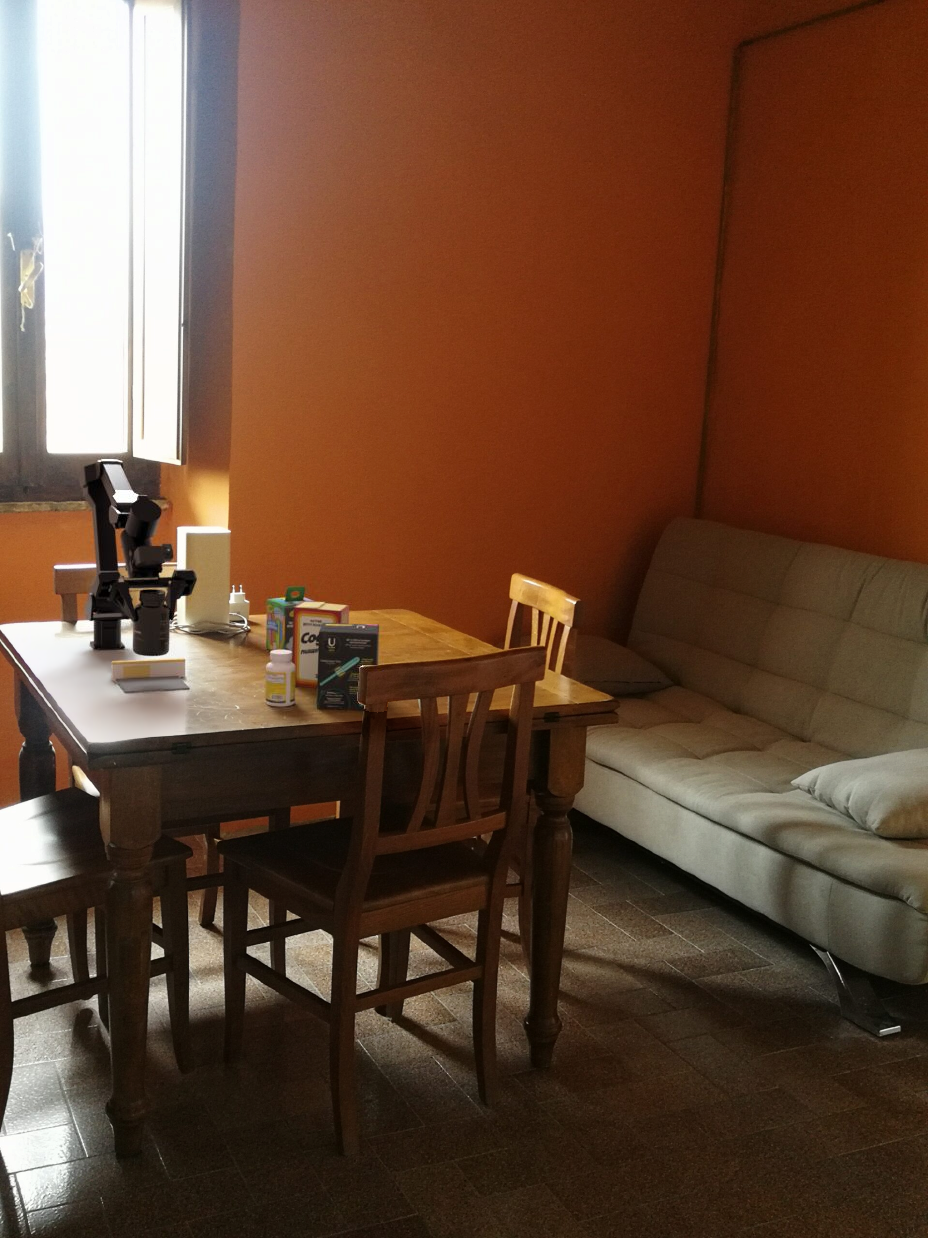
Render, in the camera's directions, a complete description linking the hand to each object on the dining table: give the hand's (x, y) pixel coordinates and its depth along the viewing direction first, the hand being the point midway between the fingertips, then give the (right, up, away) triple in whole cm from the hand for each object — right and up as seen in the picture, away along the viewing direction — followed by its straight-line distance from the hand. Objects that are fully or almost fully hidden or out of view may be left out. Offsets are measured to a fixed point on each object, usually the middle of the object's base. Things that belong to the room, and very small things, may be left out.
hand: (153, 620), depth 224 cm
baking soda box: (+30, -13, +11) cm, 34 cm away
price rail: (-3, -11, +8) cm, 14 cm away
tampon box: (+37, -16, -3) cm, 40 cm away
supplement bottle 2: (+25, -16, -6) cm, 30 cm away
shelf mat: (-1, -12, +2) cm, 13 cm away
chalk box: (+21, -7, +39) cm, 45 cm away
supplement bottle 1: (-1, -6, +2) cm, 7 cm away
